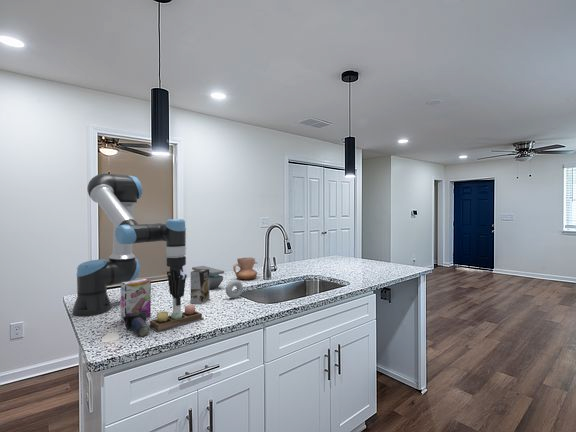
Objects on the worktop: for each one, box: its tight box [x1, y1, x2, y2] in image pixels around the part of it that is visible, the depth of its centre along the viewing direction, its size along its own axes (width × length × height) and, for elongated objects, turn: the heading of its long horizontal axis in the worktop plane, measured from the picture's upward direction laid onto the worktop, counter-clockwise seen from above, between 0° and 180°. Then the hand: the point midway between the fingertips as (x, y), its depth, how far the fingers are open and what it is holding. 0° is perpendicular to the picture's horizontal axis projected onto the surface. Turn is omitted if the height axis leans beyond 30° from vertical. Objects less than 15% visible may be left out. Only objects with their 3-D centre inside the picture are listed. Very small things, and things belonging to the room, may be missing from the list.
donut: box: [225, 279, 244, 299], centre depth 167 cm, size 10×4×10 cm, turn 130°
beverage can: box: [123, 310, 151, 337], centre depth 121 cm, size 9×8×12 cm
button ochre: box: [156, 311, 169, 321], centre depth 125 cm, size 4×4×3 cm
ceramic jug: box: [232, 256, 259, 281], centre depth 215 cm, size 18×14×14 cm
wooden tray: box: [148, 310, 204, 333], centre depth 130 cm, size 9×20×2 cm, turn 137°
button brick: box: [184, 304, 196, 314], centre depth 134 cm, size 4×4×3 cm
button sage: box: [170, 311, 183, 320], centre depth 130 cm, size 4×4×3 cm
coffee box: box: [190, 269, 210, 305], centre depth 161 cm, size 9×6×16 cm
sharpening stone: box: [191, 265, 225, 290], centre depth 193 cm, size 25×8×11 cm, turn 44°
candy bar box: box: [120, 278, 152, 324], centre depth 135 cm, size 11×5×16 cm, turn 141°
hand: (176, 312), depth 130 cm, fingers closed
